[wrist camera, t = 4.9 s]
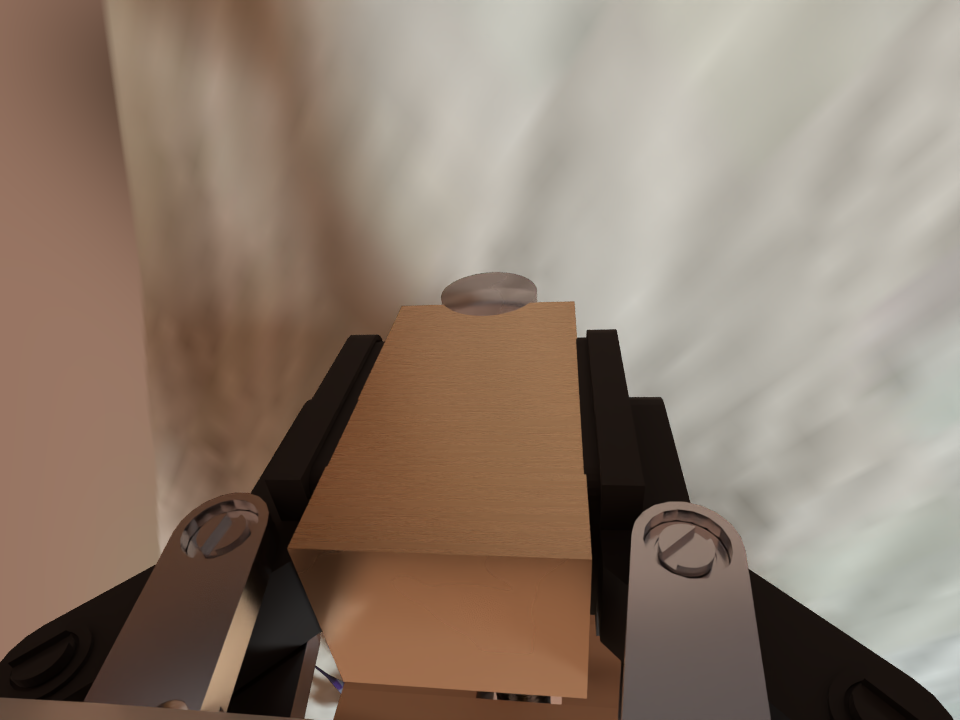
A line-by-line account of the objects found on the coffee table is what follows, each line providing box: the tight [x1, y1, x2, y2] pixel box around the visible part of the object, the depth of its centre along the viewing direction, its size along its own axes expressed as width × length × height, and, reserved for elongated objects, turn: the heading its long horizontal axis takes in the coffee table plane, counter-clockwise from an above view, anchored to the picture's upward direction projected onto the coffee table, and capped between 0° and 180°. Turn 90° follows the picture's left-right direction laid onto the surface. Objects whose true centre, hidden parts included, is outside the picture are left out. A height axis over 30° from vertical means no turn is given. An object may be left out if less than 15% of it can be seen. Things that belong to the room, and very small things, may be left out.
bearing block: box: [333, 615, 621, 720], centre depth 22 cm, size 8×12×14 cm
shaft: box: [287, 272, 592, 704], centre depth 15 cm, size 22×4×8 cm, turn 5°
